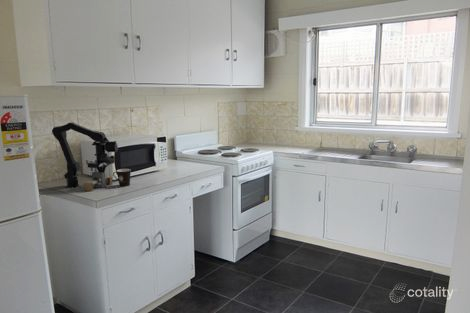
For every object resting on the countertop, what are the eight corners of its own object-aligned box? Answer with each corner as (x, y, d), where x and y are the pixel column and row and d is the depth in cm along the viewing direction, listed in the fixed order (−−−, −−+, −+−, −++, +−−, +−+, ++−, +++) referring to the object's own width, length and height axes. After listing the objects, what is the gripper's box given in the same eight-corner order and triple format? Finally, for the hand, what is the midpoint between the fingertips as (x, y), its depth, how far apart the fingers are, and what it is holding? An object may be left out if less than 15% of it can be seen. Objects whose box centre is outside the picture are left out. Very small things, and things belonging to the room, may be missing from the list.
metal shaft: (91, 191, 221) (90, 182, 220) (84, 190, 223) (84, 182, 222) (112, 184, 238) (111, 176, 237) (106, 183, 240) (105, 175, 239)
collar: (102, 187, 228) (101, 173, 226) (92, 186, 231) (91, 172, 229) (106, 186, 231) (105, 172, 229) (96, 185, 234) (95, 171, 232)
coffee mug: (134, 185, 235) (133, 170, 233) (122, 187, 228) (121, 172, 227) (124, 182, 242) (123, 167, 241) (112, 184, 236) (111, 169, 234)
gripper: (100, 155, 219) (102, 180, 221) (120, 150, 236) (122, 174, 238) (85, 154, 223) (87, 178, 225) (106, 149, 240) (108, 172, 242)
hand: (102, 176), depth 233 cm, fingers closed
